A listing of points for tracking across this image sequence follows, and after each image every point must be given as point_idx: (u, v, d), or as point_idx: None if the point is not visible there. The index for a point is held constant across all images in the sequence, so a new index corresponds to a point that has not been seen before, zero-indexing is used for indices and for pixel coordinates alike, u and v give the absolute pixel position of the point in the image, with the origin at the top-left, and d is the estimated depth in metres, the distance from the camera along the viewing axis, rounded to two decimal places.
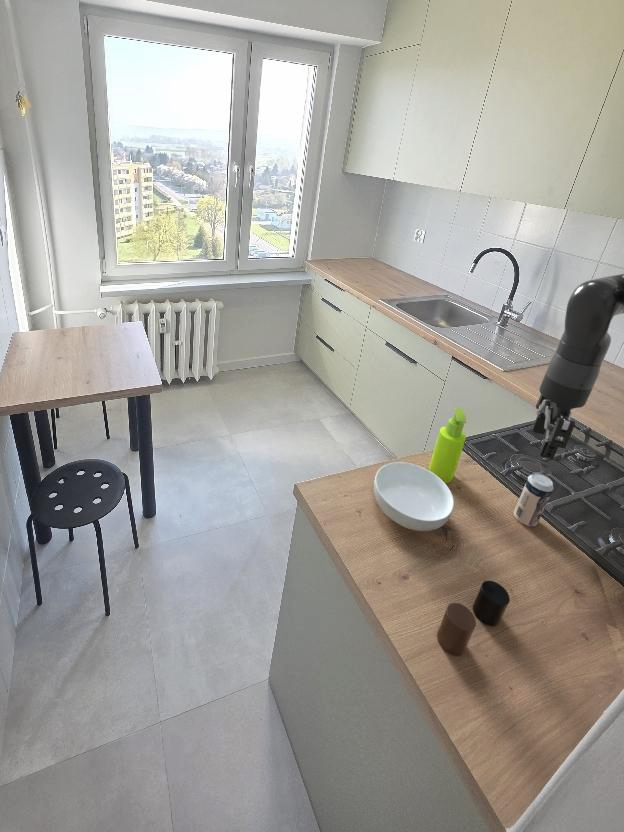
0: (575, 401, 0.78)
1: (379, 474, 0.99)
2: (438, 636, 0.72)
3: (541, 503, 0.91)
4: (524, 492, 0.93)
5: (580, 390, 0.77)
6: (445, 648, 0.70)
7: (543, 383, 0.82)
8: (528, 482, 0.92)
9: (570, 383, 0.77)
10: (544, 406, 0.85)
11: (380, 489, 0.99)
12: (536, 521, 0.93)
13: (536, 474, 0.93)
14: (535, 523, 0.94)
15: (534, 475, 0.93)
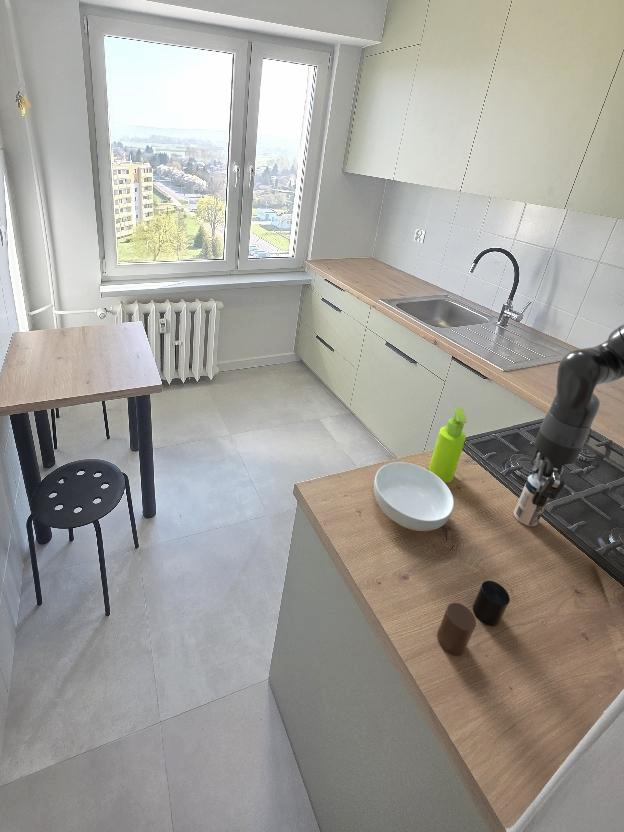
0: (567, 458, 0.84)
1: (379, 474, 0.99)
2: (438, 636, 0.72)
3: None
4: (524, 492, 0.93)
5: (571, 449, 0.83)
6: (445, 648, 0.70)
7: (537, 439, 0.88)
8: (528, 482, 0.92)
9: (562, 442, 0.83)
10: (539, 459, 0.91)
11: (380, 489, 0.99)
12: (536, 521, 0.93)
13: (536, 474, 0.93)
14: (535, 523, 0.94)
15: (534, 475, 0.93)
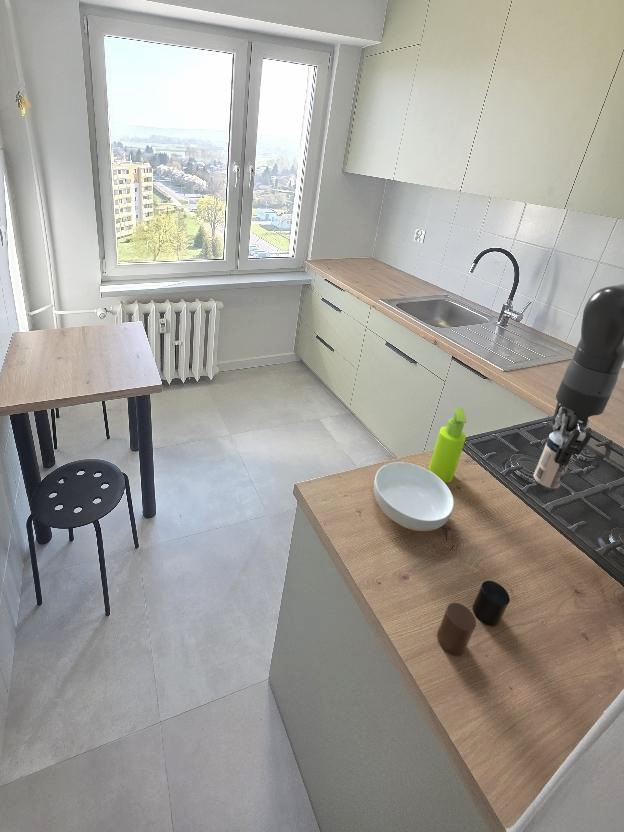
0: (593, 409, 0.77)
1: (379, 474, 0.99)
2: (438, 636, 0.72)
3: None
4: (545, 451, 0.87)
5: (598, 397, 0.76)
6: (445, 648, 0.70)
7: (560, 390, 0.82)
8: (549, 440, 0.86)
9: (588, 390, 0.77)
10: (561, 414, 0.84)
11: (380, 489, 0.99)
12: (558, 483, 0.87)
13: (558, 431, 0.86)
14: (557, 485, 0.87)
15: (556, 432, 0.86)
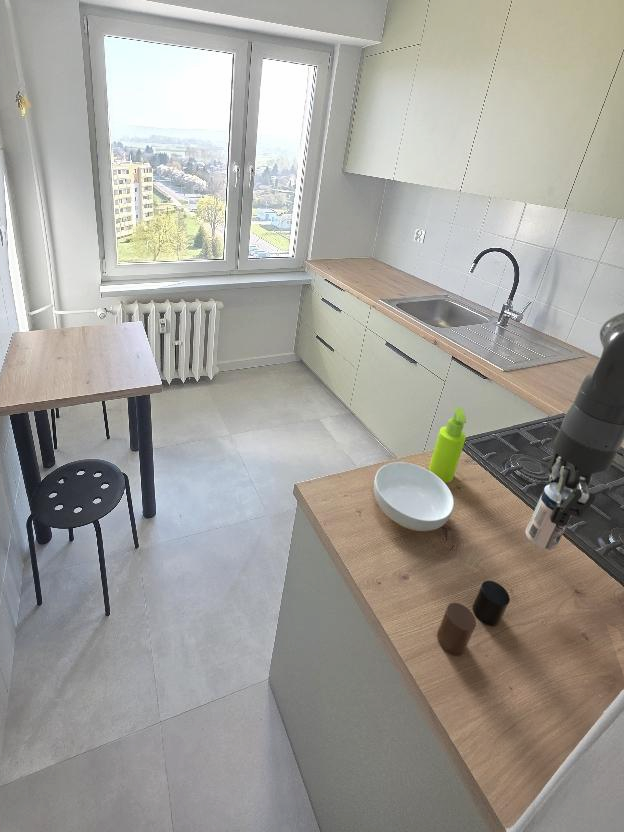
0: (598, 464, 0.64)
1: (379, 474, 0.99)
2: (438, 636, 0.72)
3: None
4: (539, 507, 0.74)
5: (604, 452, 0.63)
6: (445, 648, 0.70)
7: (558, 439, 0.68)
8: (545, 494, 0.72)
9: (592, 443, 0.63)
10: (559, 465, 0.71)
11: (380, 489, 0.99)
12: (555, 543, 0.74)
13: (555, 484, 0.73)
14: (553, 546, 0.74)
15: (552, 485, 0.73)
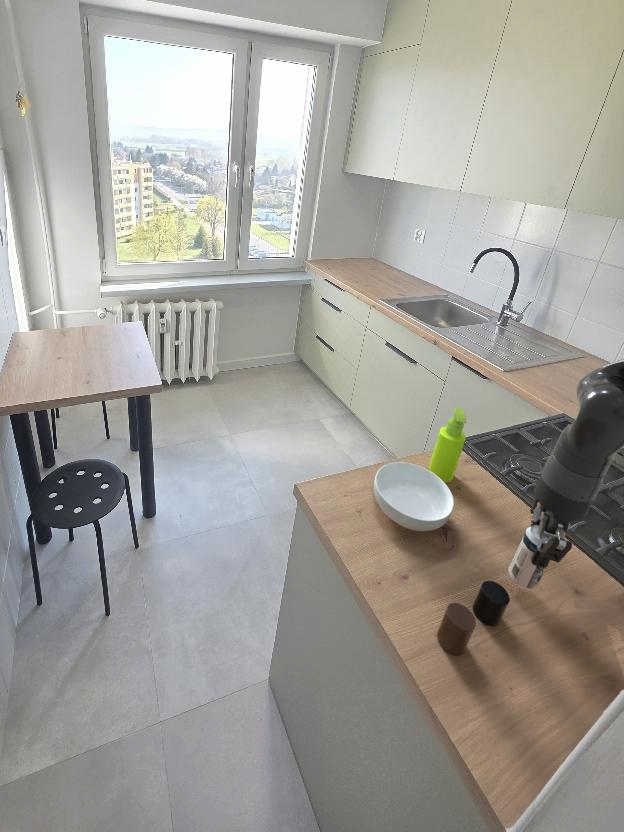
0: (575, 513, 0.68)
1: (379, 474, 0.99)
2: (438, 636, 0.72)
3: None
4: (521, 548, 0.77)
5: (580, 502, 0.67)
6: (445, 648, 0.70)
7: (538, 486, 0.72)
8: (526, 536, 0.76)
9: (569, 494, 0.67)
10: (540, 509, 0.74)
11: (380, 489, 0.99)
12: (536, 583, 0.77)
13: (536, 526, 0.76)
14: (535, 585, 0.77)
15: (533, 528, 0.76)
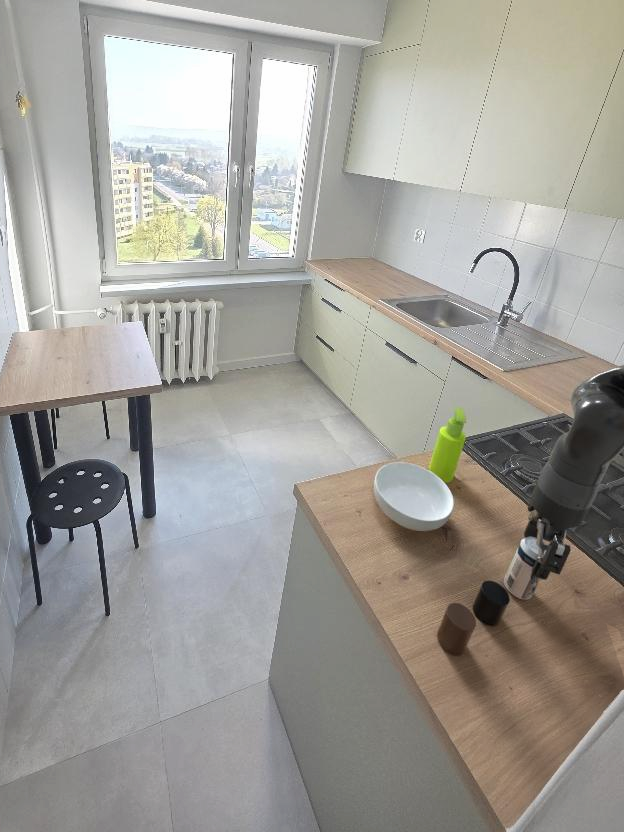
0: (571, 521, 0.68)
1: (379, 474, 0.99)
2: (438, 636, 0.72)
3: None
4: (516, 559, 0.78)
5: (576, 510, 0.67)
6: (445, 648, 0.70)
7: (534, 494, 0.72)
8: (520, 548, 0.77)
9: (565, 502, 0.67)
10: (536, 516, 0.75)
11: (380, 489, 0.99)
12: (530, 594, 0.78)
13: (530, 538, 0.78)
14: (529, 596, 0.78)
15: (528, 539, 0.77)
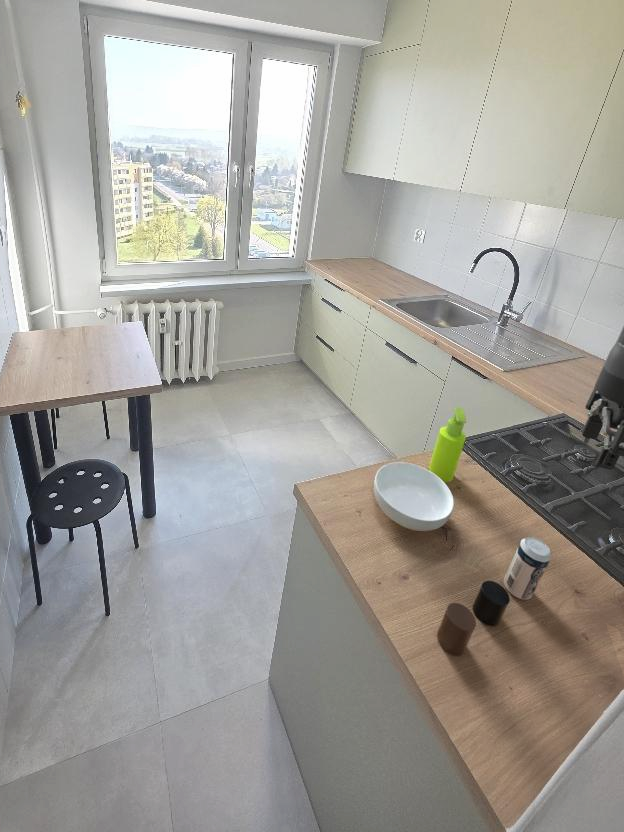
0: None
1: (379, 474, 0.99)
2: (438, 636, 0.72)
3: (536, 575, 0.76)
4: (516, 559, 0.78)
5: None
6: (445, 648, 0.70)
7: (601, 379, 0.69)
8: (520, 548, 0.77)
9: None
10: (600, 406, 0.72)
11: (380, 489, 0.99)
12: (530, 594, 0.78)
13: (530, 538, 0.78)
14: (529, 596, 0.78)
15: (528, 539, 0.77)
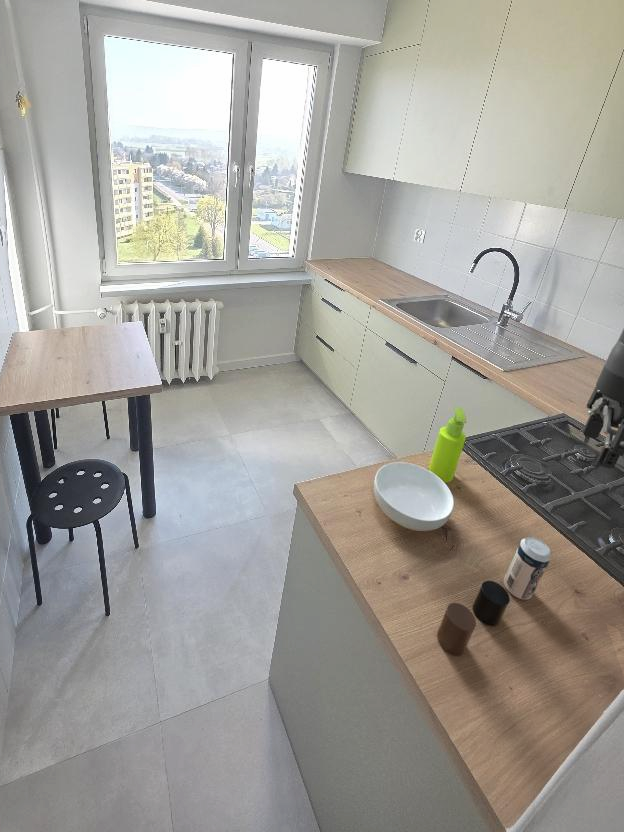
0: None
1: (379, 474, 0.99)
2: (438, 636, 0.72)
3: (536, 575, 0.76)
4: (516, 559, 0.78)
5: None
6: (445, 648, 0.70)
7: (602, 378, 0.69)
8: (521, 548, 0.77)
9: None
10: (601, 405, 0.72)
11: (380, 489, 0.99)
12: (530, 594, 0.78)
13: (530, 538, 0.78)
14: (529, 596, 0.78)
15: (528, 539, 0.77)
